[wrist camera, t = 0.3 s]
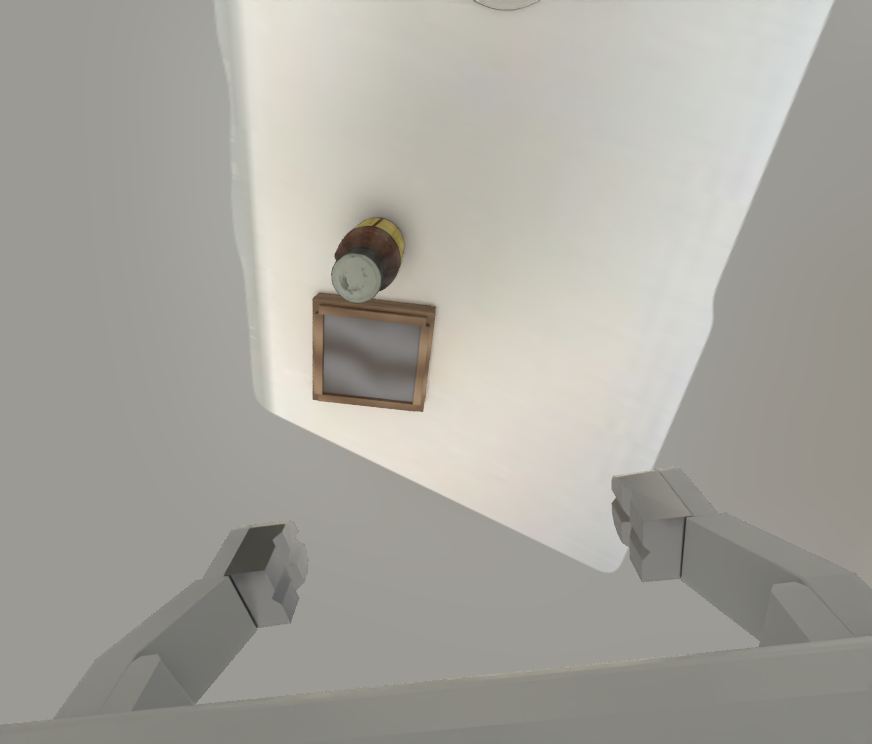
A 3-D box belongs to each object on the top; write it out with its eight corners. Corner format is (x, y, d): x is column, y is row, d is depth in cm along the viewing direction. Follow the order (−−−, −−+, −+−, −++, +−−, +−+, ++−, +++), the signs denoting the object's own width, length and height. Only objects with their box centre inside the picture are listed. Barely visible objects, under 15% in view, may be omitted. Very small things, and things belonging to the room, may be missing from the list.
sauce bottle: (350, 262, 53) (303, 306, 34) (359, 210, 50) (313, 227, 32) (402, 275, 53) (382, 324, 35) (413, 224, 51) (398, 249, 33)
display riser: (319, 292, 54) (310, 300, 51) (435, 306, 55) (435, 315, 51) (318, 389, 60) (310, 403, 56) (423, 401, 61) (422, 415, 57)
